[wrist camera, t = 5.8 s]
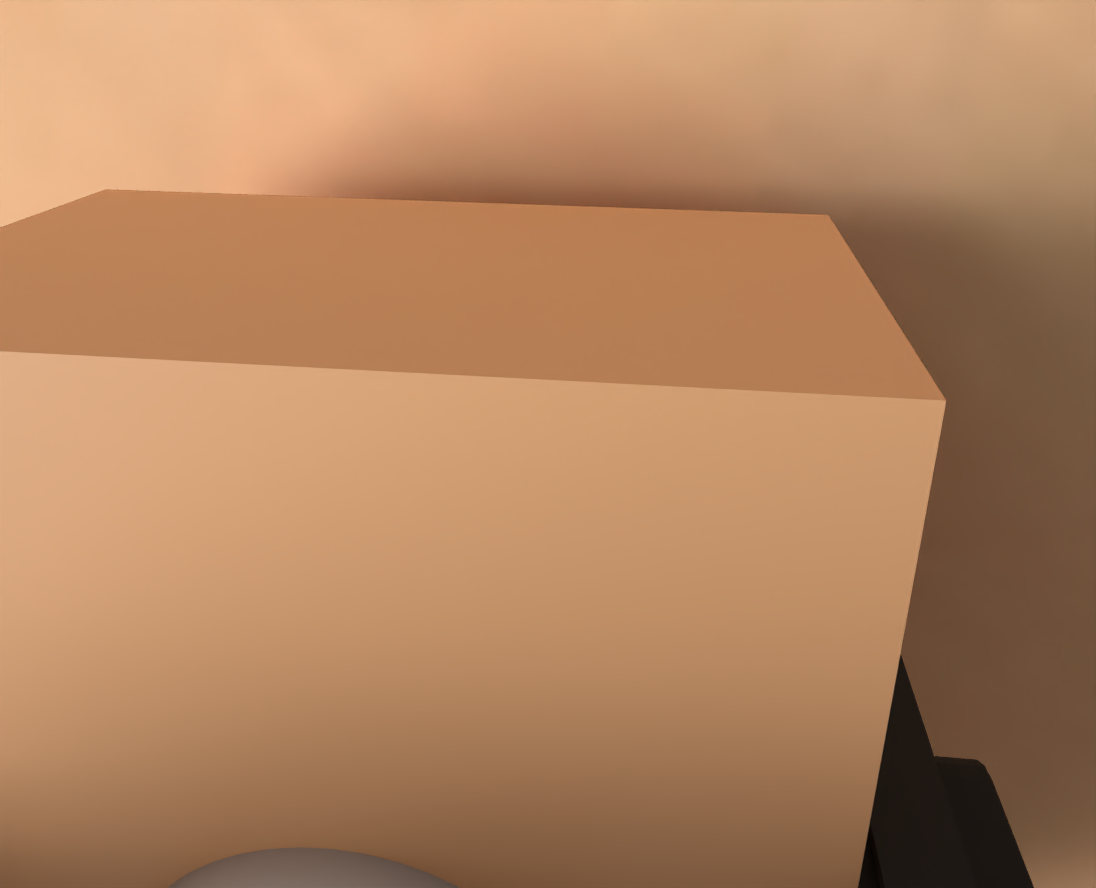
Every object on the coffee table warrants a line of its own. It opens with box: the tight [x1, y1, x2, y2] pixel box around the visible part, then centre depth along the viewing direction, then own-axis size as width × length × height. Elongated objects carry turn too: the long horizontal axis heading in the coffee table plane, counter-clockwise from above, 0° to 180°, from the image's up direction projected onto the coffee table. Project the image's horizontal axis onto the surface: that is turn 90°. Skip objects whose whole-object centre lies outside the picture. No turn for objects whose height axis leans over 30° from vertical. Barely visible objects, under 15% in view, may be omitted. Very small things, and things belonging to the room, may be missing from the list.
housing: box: [0, 190, 946, 888], centre depth 8 cm, size 6×9×5 cm, turn 179°
